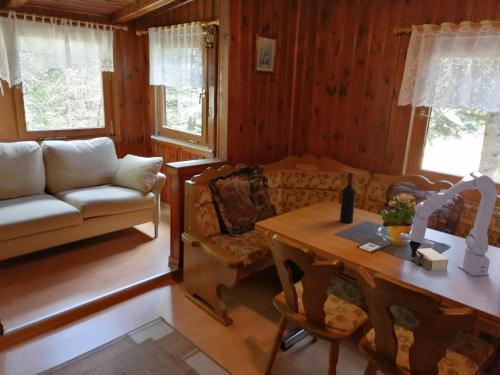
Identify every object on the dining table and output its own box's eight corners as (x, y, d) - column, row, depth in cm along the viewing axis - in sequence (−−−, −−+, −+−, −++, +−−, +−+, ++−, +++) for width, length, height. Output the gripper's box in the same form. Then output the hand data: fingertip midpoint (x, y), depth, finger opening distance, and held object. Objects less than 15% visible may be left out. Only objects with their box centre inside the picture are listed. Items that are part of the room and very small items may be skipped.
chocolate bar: (392, 243, 191) (372, 252, 180) (392, 244, 191) (372, 253, 180) (376, 237, 198) (356, 246, 186) (376, 239, 198) (356, 247, 187)
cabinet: (446, 269, 165) (448, 259, 163) (426, 270, 163) (428, 260, 161) (429, 257, 176) (430, 248, 175) (410, 259, 174) (411, 249, 173)
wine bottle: (337, 220, 225) (341, 172, 217) (347, 218, 228) (351, 171, 220) (345, 224, 218) (349, 175, 211) (355, 222, 221) (360, 174, 214)
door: (419, 265, 167) (420, 256, 166) (416, 265, 167) (418, 256, 166) (413, 258, 175) (415, 249, 173) (411, 258, 175) (413, 249, 173)
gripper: (438, 232, 164) (432, 259, 167) (406, 222, 173) (400, 249, 177) (433, 236, 159) (427, 264, 162) (400, 226, 168) (395, 253, 172)
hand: (413, 256), depth 169 cm, fingers closed, pressing on door
